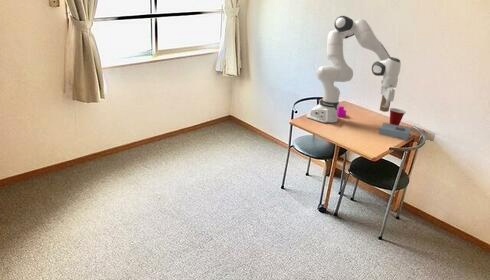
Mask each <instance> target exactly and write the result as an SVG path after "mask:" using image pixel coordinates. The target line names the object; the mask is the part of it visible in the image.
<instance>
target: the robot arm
mask: <svg viewBox="0 0 490 280" xmlns="http://www.w3.org/2000/svg"><path fill="white" fill-rule="evenodd" d="M334 28H335V29H333V30H331V31H329V32H328V34H327V39H326V58H327V60H329V61H330V62H332V63H333V65H321V66H319V67H318V69H317V71H316V77H317V79H318V80H319V82H321V84H322V85H323V86H322V87H323V94H322V95H323V96H322V98H321V99H319V103H318V104H317V105H315V106H313V107H312V108H311V109H310V111H309V112H308V113H307V114H306V116H305V117H306V118H307V119H311V120H314V121H318V122H321V123H337V122H338V117H337V109H338V106H340V104H339V103H340V100H339V99H340V94H341V91H340V89H339V87H337V86H335V85H334V84H335V82H338V83H346V82H350V81H351V80H352V79H353V77H354V71H353V68H351V67H350V66H349V64H348V63H347V62H346V60H345V56H344V39H345V40H346V39H349V38H350V37H353V36H354V37H355V39H356V40H357V42H358V44H359V45H360V46H361V48H364V49H366V50H369V51H372V52H374V53H375V54H376V55H377V57H378V59H379V60H377V61H374V63H373V64H372V65H371V73H372V74H373V75H374V76H377V77H383V78H382V80H381V88H380V95H384V98H385V99H386V103H385V106H388V105H389V102H390V101H391V102H394V99H395V94H396V93H395V92H396V90H395V88H397V86H398V80H399V74H400V72H401V60H400V59H399V58H397V57H394V56H393V57H392V56H390V54H389V52H388V51H387V49H386V48H385V47H384V45H383V43H382V42H381V41H380V39H378V38H377V36H376V35H375V33H374V31H373V30H372V28H371V26H370V24H369V23H368V22H367V20H365V19H362V18H361V19H357V20H356V21H354V19H352V18H350V17H348V16H346V15H339V16H338V17H336V19H335V20H334ZM391 102H390V103H391Z"/></svg>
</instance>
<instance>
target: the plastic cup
mask: <svg viewBox="0 0 490 280" xmlns="http://www.w3.org/2000/svg"><path fill="white" fill-rule="evenodd" d="M405 114H406V111H405V110H403V109H399V108H396V107H389V124H393V125H397V126H400V124H401V121H402V119H403V117H404V116H405Z"/></svg>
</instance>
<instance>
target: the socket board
mask: <svg viewBox="0 0 490 280" xmlns="http://www.w3.org/2000/svg"><path fill="white" fill-rule="evenodd" d="M411 131H412V128H411V127H408V126H402V125H399V126H397V125H393V124H390V123H387V122H383V123H382V124H381V125H380V127H379V132H378V134H379V135H384V136H387V137H388V136H389V137H392V138H397V139H402V140H405V141H408V139H409V136H410V134H411Z"/></svg>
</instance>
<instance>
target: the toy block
mask: <svg viewBox="0 0 490 280" xmlns="http://www.w3.org/2000/svg"><path fill="white" fill-rule="evenodd" d="M346 115H347V110H345V107H344V106H342V105H339V106H338V109H337V118H344V117H345V118H346Z"/></svg>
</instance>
